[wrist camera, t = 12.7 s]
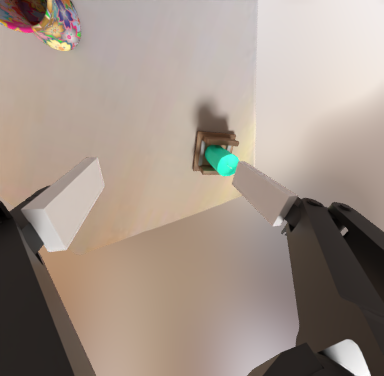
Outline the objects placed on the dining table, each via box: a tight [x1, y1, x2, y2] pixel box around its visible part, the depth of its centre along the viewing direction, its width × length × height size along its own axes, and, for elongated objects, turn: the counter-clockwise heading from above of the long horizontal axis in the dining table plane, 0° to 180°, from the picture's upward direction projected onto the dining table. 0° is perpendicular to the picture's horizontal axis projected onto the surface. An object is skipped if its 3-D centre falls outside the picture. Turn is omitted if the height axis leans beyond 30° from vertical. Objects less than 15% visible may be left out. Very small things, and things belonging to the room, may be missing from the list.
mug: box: [0, 0, 81, 51], centre depth 20 cm, size 12×9×11 cm
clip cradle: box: [193, 131, 239, 175], centre depth 42 cm, size 12×12×6 cm
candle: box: [205, 145, 239, 176], centre depth 38 cm, size 6×6×12 cm
